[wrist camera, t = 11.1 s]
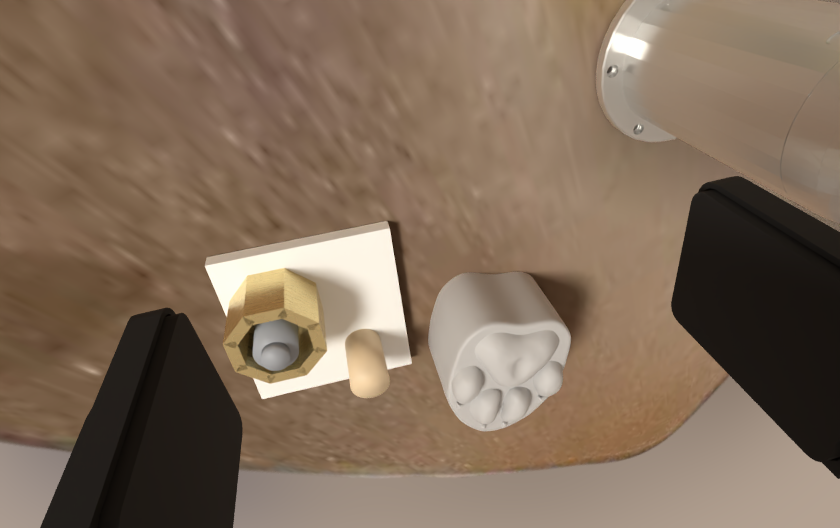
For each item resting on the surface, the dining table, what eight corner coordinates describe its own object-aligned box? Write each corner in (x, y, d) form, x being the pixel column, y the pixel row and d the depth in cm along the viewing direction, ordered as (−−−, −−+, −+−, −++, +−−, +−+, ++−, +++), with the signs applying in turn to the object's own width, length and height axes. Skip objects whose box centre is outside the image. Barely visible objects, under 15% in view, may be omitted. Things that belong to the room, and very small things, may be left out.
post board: (387, 220, 40) (405, 273, 34) (409, 354, 49) (426, 416, 43) (206, 257, 38) (191, 320, 32) (262, 389, 47) (259, 458, 41)
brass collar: (310, 262, 39) (312, 301, 35) (328, 327, 43) (332, 369, 39) (220, 281, 38) (213, 323, 34) (247, 345, 42) (243, 390, 38)
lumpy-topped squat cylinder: (546, 270, 47) (592, 332, 40) (514, 372, 54) (549, 440, 47) (439, 272, 44) (467, 338, 37) (419, 379, 51) (441, 451, 44)
